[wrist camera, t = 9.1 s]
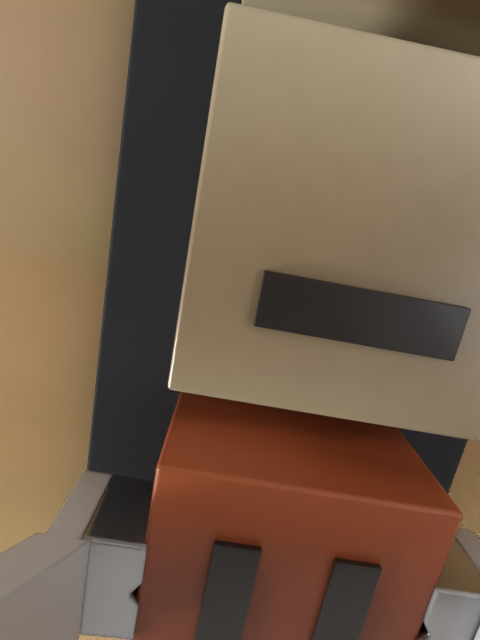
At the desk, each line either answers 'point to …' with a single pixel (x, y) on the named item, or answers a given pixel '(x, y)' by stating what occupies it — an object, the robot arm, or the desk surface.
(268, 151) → the tile
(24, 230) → the desk surface
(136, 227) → the felt mat
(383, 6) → the tile
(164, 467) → the pause symbol tile
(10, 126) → the desk surface
